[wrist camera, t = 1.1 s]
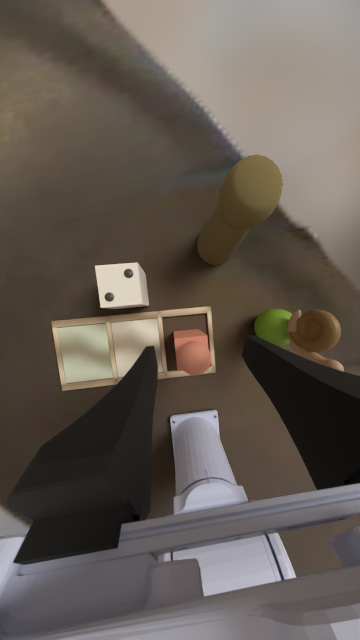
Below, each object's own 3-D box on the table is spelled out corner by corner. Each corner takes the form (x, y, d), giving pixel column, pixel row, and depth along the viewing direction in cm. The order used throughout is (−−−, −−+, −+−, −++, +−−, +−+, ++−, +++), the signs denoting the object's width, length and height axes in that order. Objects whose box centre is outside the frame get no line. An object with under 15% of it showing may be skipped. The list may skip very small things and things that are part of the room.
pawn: (200, 352, 23) (219, 381, 13) (176, 355, 22) (178, 386, 13) (197, 328, 22) (216, 341, 13) (173, 331, 22) (174, 345, 13)
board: (215, 371, 23) (215, 372, 23) (63, 389, 22) (62, 390, 21) (210, 306, 22) (210, 306, 22) (53, 321, 21) (51, 321, 21)
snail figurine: (246, 347, 23) (327, 385, 11) (247, 309, 23) (333, 306, 11) (277, 346, 23) (388, 384, 11) (279, 309, 23) (396, 306, 11)
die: (149, 305, 22) (142, 304, 17) (117, 308, 21) (100, 307, 16) (145, 274, 21) (137, 262, 16) (113, 276, 21) (94, 265, 16)
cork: (203, 220, 21) (237, 123, 10) (239, 233, 22) (307, 153, 11) (192, 258, 21) (213, 202, 11) (227, 270, 22) (283, 228, 11)
